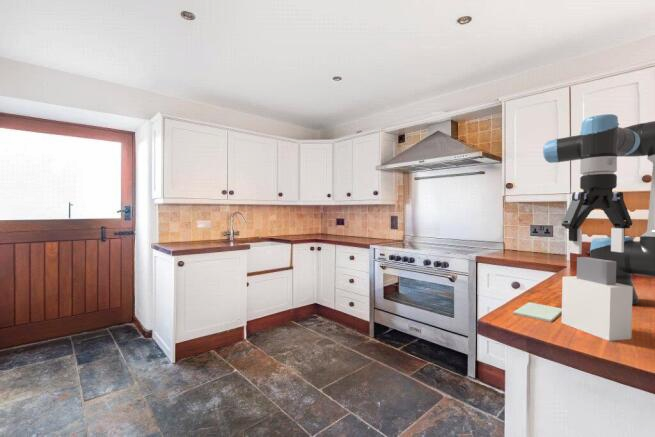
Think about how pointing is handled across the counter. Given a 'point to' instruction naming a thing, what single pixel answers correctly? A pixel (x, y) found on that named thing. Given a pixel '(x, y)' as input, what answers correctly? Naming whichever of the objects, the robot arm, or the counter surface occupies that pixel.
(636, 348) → the counter surface
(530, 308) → the mat
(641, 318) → the counter surface
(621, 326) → the off-white upright block
